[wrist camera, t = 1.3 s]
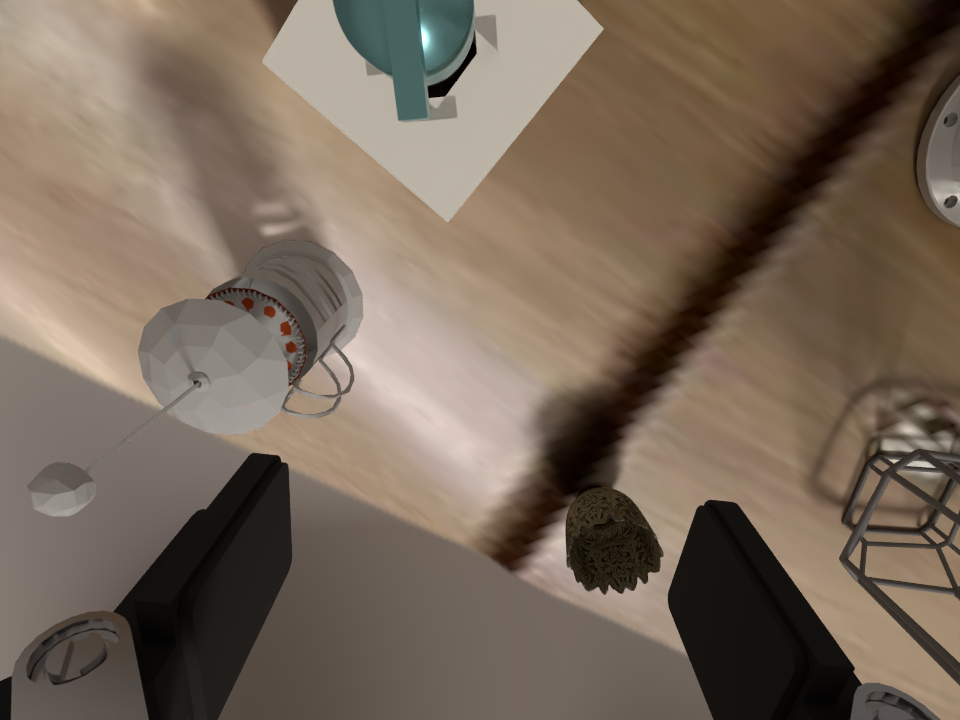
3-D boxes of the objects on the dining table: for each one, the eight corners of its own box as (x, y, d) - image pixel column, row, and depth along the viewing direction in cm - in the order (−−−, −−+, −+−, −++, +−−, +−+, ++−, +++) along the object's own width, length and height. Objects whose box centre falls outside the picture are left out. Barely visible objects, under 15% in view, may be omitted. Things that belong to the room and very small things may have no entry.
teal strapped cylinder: (387, -16, 32) (296, -170, 17) (473, -25, 31) (459, -189, 16) (406, 138, 35) (345, 125, 20) (484, 131, 35) (481, 113, 20)
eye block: (419, -131, 30) (406, -184, 25) (587, 46, 33) (603, 28, 28) (292, 74, 34) (261, 62, 29) (453, 214, 37) (448, 222, 32)
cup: (543, 478, 46) (553, 540, 38) (620, 450, 45) (646, 509, 37) (571, 537, 48) (586, 606, 41) (644, 513, 47) (674, 579, 40)
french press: (277, 212, 37) (-71, 305, 14) (406, 304, 40) (291, 511, 17) (218, 312, 40) (-147, 524, 17) (341, 392, 43) (168, 671, 20)
